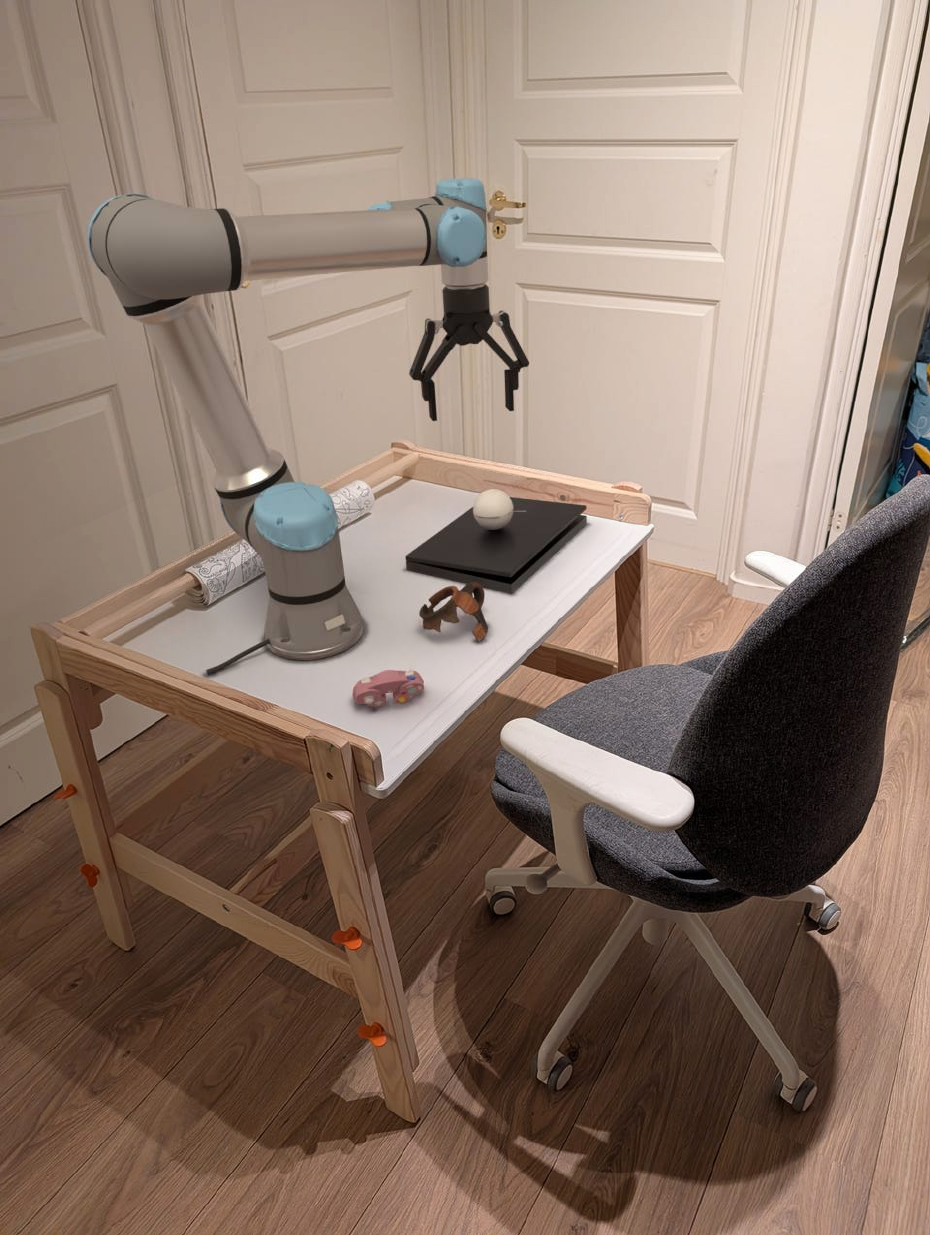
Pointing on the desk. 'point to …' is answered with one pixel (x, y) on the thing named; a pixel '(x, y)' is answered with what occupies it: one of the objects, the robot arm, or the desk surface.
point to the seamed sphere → (493, 509)
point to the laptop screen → (498, 538)
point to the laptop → (499, 581)
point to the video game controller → (388, 687)
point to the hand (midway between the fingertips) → (471, 414)
